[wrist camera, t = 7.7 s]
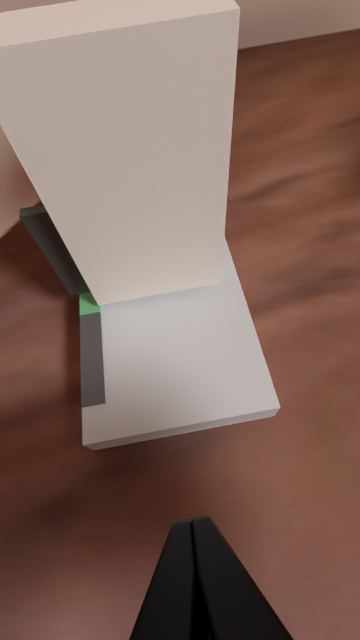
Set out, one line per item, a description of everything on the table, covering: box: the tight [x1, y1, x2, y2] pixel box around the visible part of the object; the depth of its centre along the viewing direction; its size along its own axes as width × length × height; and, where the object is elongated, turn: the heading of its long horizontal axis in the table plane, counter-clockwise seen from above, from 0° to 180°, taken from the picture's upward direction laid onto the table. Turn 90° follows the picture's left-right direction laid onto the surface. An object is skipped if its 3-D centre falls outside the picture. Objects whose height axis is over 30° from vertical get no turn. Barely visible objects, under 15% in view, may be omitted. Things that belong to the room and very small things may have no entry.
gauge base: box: [79, 236, 280, 451], centre depth 17 cm, size 14×8×2 cm, turn 10°
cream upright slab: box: [0, 0, 240, 305], centre depth 12 cm, size 4×7×10 cm, turn 100°
